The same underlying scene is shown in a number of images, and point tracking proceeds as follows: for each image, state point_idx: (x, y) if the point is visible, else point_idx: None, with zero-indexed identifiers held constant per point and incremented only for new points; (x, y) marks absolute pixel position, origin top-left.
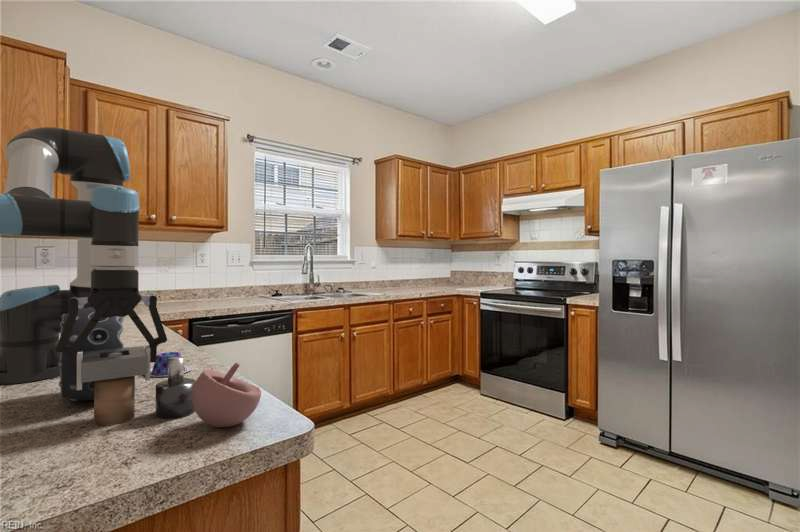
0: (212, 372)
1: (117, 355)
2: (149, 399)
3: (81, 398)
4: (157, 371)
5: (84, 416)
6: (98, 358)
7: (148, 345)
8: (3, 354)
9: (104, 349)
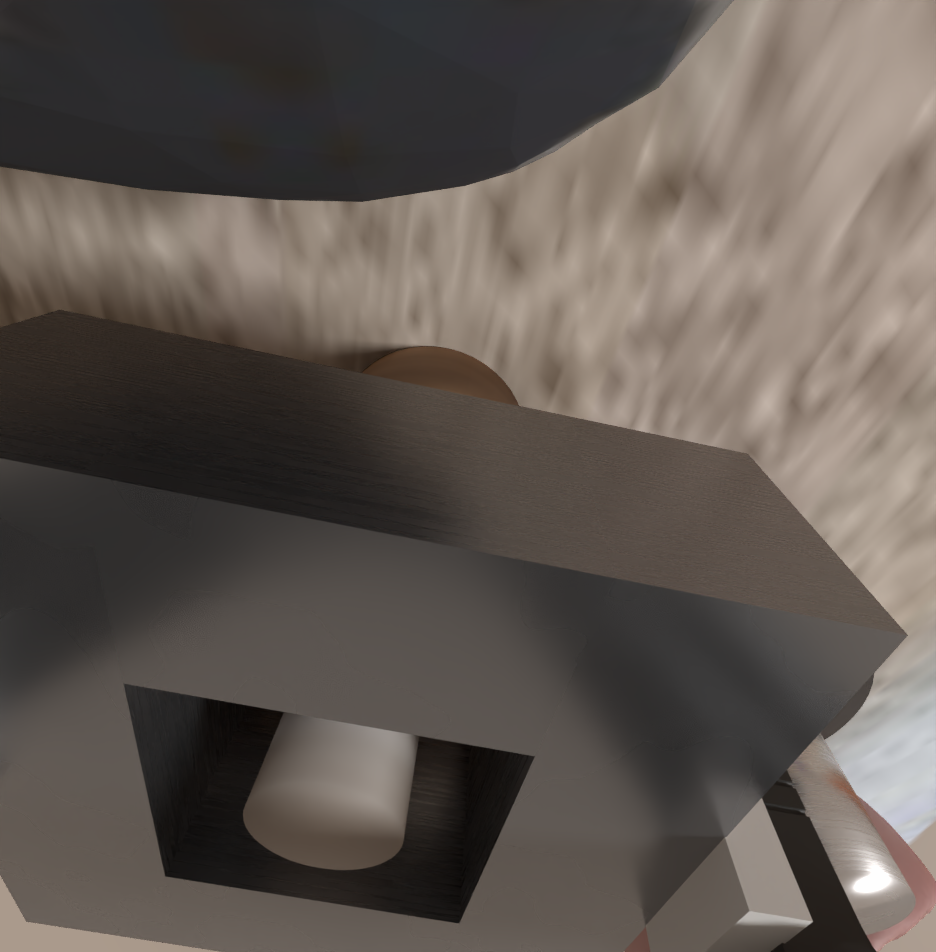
0: None
1: (344, 865)
2: (727, 183)
3: None
4: None
5: (301, 259)
6: (151, 886)
7: (796, 926)
8: None
9: (165, 173)
